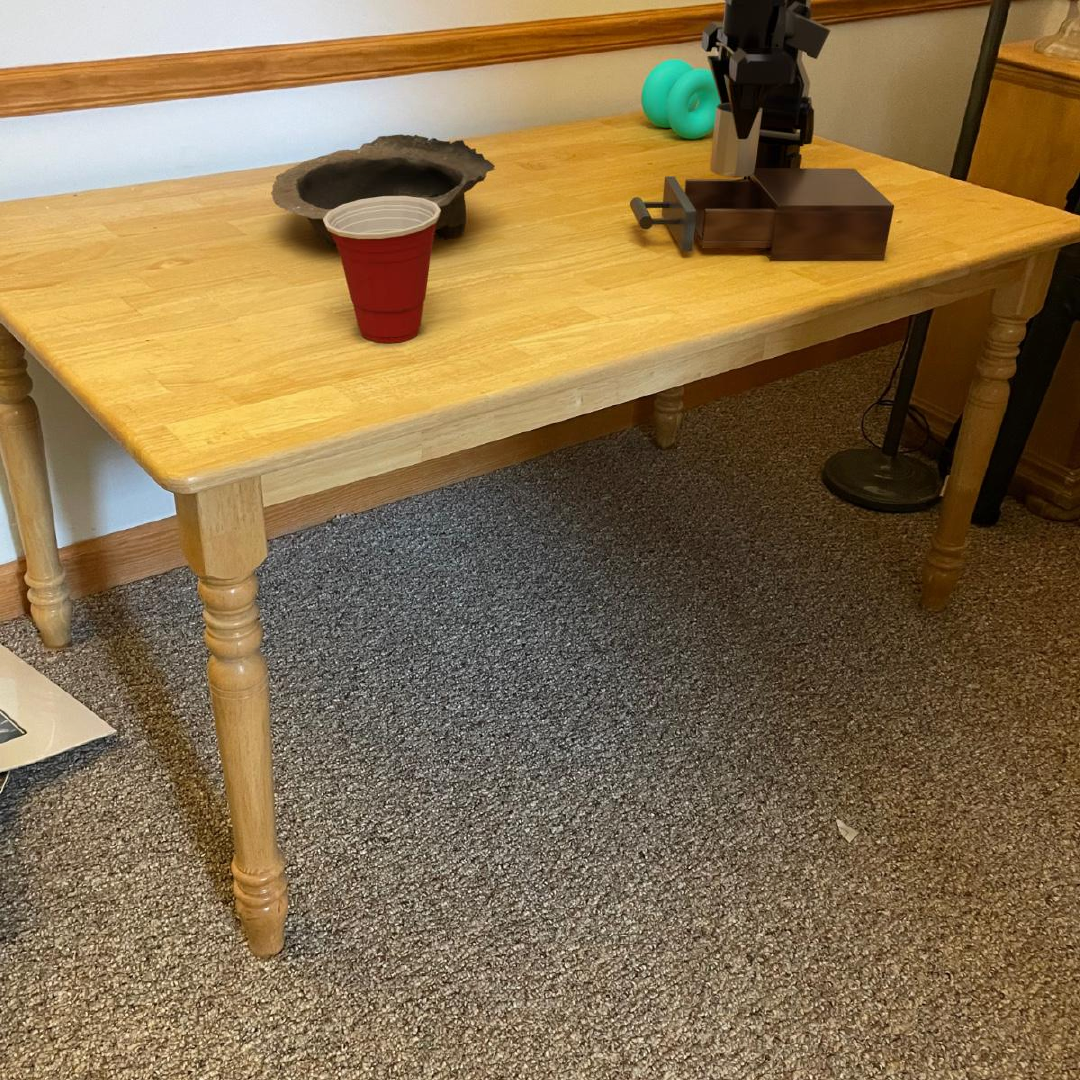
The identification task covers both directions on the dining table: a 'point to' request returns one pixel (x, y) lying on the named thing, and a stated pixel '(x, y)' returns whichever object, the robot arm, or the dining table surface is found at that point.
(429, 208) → the plastic cup
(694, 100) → the teal yo-yo
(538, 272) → the dining table surface
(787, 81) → the robot arm
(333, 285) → the dining table surface
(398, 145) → the stone bowl
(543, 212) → the dining table surface
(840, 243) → the cabinet
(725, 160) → the cup
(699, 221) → the drawer
